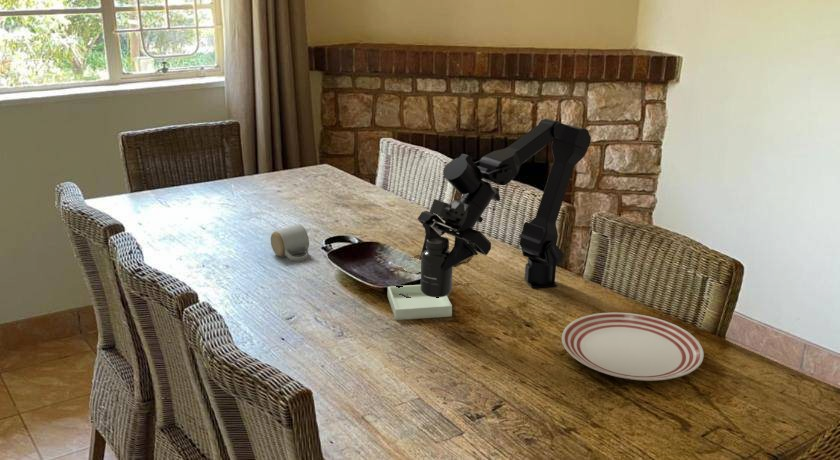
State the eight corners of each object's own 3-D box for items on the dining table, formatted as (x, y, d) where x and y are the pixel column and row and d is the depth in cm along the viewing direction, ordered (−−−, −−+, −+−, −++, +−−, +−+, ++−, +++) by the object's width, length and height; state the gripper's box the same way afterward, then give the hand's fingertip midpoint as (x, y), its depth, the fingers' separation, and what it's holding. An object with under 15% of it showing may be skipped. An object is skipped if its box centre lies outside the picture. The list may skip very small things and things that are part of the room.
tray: (440, 293, 182) (440, 283, 181) (451, 316, 170) (452, 306, 170) (387, 296, 180) (387, 286, 179) (395, 320, 168) (395, 309, 167)
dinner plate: (681, 407, 137) (683, 391, 136) (539, 365, 151) (540, 350, 150) (715, 347, 159) (717, 332, 158) (588, 315, 173) (590, 301, 172)
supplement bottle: (422, 299, 163) (423, 246, 159) (418, 285, 170) (419, 234, 166) (454, 297, 164) (456, 244, 160) (449, 284, 170) (450, 233, 166)
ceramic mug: (269, 253, 205) (268, 226, 203) (296, 246, 210) (295, 220, 208) (289, 265, 198) (288, 237, 195) (316, 258, 203) (315, 231, 200)
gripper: (424, 175, 168) (384, 233, 165) (483, 195, 154) (440, 259, 152) (450, 202, 175) (412, 259, 173) (509, 224, 162) (468, 285, 159)
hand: (432, 264), depth 164 cm, fingers closed on supplement bottle, 7 cm apart
